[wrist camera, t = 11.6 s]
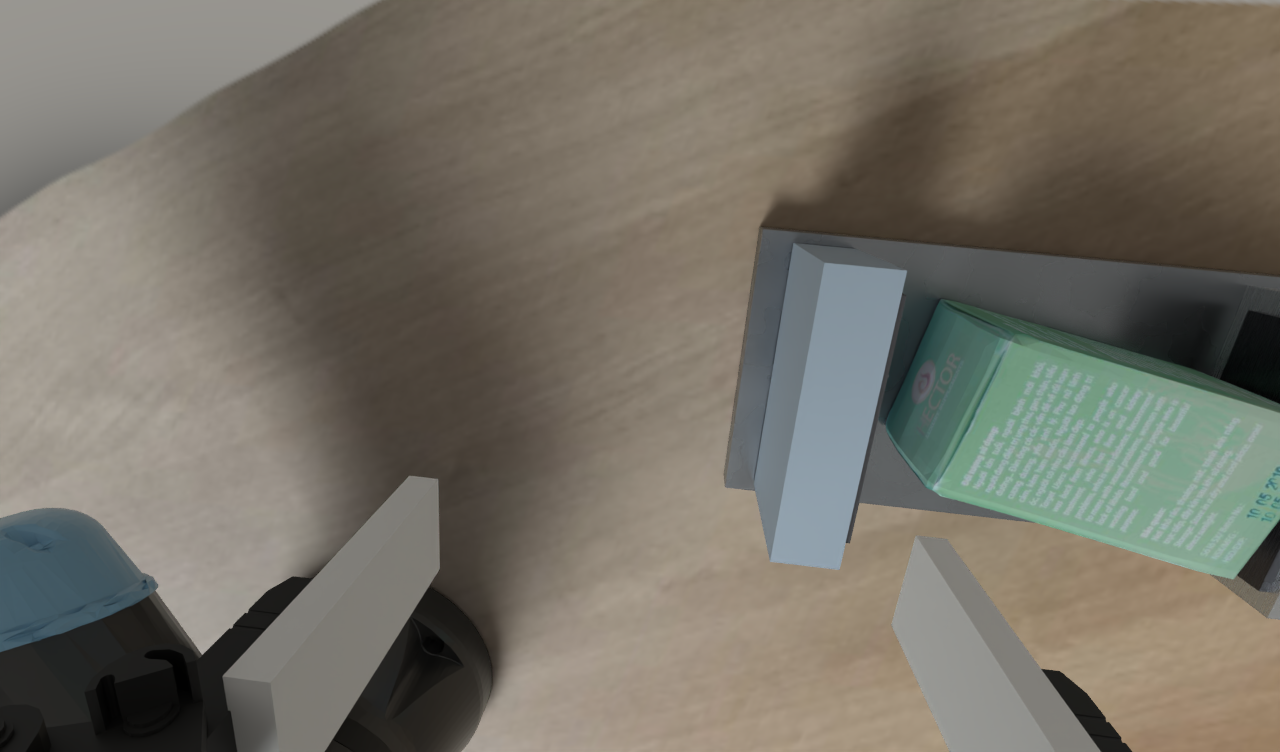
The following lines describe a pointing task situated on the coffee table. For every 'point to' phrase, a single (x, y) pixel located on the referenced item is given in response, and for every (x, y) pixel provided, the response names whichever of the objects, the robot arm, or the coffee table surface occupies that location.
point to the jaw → (825, 399)
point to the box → (1090, 439)
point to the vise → (1041, 294)
